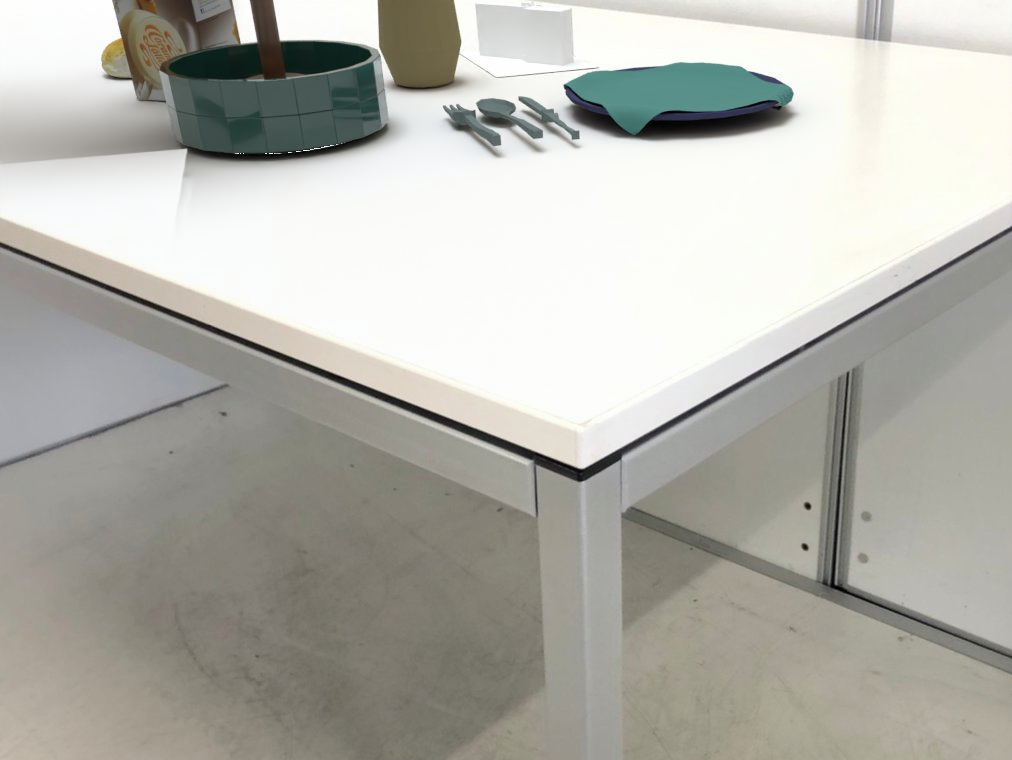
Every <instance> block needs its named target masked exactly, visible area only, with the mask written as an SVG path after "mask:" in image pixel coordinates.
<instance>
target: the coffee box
mask: <svg viewBox="0 0 1012 760" xmlns="http://www.w3.org/2000/svg"><path fill="white" fill-rule="evenodd" d="M111 1H112V2H111V3H112V5H113V10H114V13H115V18H116V21H117V26H118V29H119V30H118V31H119V33H120V38H122V42H123V46H124V50H125V54H126V58H127V61H128V65H129V69H130V73H131V77H132V78H131V82H132V85H133V88H134V89H133V90H134V93H135V97H136V99H137V101H138V100H139V101H143V100H144V101H157V102H158V101H160V102H166V99H165V95H164V90H163V86H162V81H161V77H160V73H159V69H160V66H161V63H163V62H165V61H167V60H169V59H171V58H173V57H175V56H179V55H182V54H186V53H189V52H193V51H197V50H202V49H208V48H213V47H219V46H225V45H233V44H242V42H241V37H240V33H239V27H238V23H237V17H236V13H235V12H236V11H235V6H234V3H233V2H234V1H233V0H111Z"/></svg>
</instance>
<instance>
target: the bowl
mask: <svg viewBox="0 0 1012 760" xmlns="http://www.w3.org/2000/svg"><path fill="white" fill-rule="evenodd" d="M280 43H281V49H282V55H283V61H284V67H285V73H299V74H303V75H304V76H296V77H286V78H272V79H258V80H245V79H247V78H249V77H252V76H256V75H261V74H263V71H262V65H261V60H260V54H259V49H258V43H257V41H252V42H243V43H242V42H241V44H233V45H225V46H219V47H213V48H208V49H202V50H197V51H193V52H189V53H186V54H182V55H179V56H175V57H173V58H171V59H169V60H167V61H165V62H163V63H161V66H160V69H159V73H160V77H161V81H162V86H163V90H164V95H165V99H166V101H165V103H166V108H167V112H168V117H169V121H170V125H171V129H172V134H173V138H174V139H175V140H176V141H177V142H179V143H180V144H182V145H183V146H185V147H190V148H193V149H197V150H202V151H206V152H216V153H221V152H224V153H223V154H228V153H239V154H240V153H241V154H243V153H244V154H265V153H267V154H269V153H273V154H274V153H288V152H296V151H303V150H310V149H314V148H321V147H324V146H330V145H336V144H341V143H344V142H348V141H350V142H352V140H353V141H356V140H359V139H363V138H366V137H367V136H369V135H371V134H374V133H376V132H379V131H380V130H382V129H383V128H384V127H385V126H386V125H387V123H388V122H389V119H390V118H389V111H388V105H387V96H386V95H387V94H386V89H385V88H386V87H385V79H384V72H383V65H382V64H383V63H382V54H380V52H379V50H378V49H377V48H375V47H372V46H369V45H366V44H364V43H356V42H350V41H343V40H328V39H326V40H325V39H282V40H281V39H280ZM355 139H356V140H355ZM348 143H349V142H348ZM344 144H345V143H344ZM341 145H342V144H341Z"/></svg>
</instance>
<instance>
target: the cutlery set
mask: <svg viewBox="0 0 1012 760" xmlns="http://www.w3.org/2000/svg"><path fill="white" fill-rule="evenodd" d="M563 90H565V92H564V93H565V96H566V98H568V99H569V101H570V102H571V103H572V104H574V105H576V106H577V107H580V108H582V109H585V110H588V111H590V112H593V113H595V114H601V115H605V116H610V117H611V118H612V119H613V121H614V122H615V123H616V124H617V125H618V126H619V127H620V128H622V130H625V131H626V132H628V133H629V134H631V135H632V136H636V135H637V134H638V133H640V131H641V130H643V128H644V127H645V126H646V125H647V124H648V123H649V122H651V121H696V120H697V121H698V120H711V119H724V118H728V117H736V116H742V115H745V114H753V113H756V112H759V111H763V110H766V109H768V108H771V109H774V110H775V111H781V110H782V109H783V108H784V107H785V106H787V105H788V104H790V103H791V102H792V101H793V98H794V95H795V93H794V90H793V88H792V87H791V86H789V85H788V84H786V83H784V82H782V81H781V80H779V79H777V78H776V77H773V76H769V75H766V74H763V73H759V72H756V71H750V70H749V71H748V70H747V69H746V68H745V67H743V66H741V65H740V66H739V65H731V64H723V63H714V62H713V63H712V62H683V61H680V62H674V63H670V64H665V65H656V66H655V65H654V66H640V67H639V66H638V67H629V68H622V69H615V70H608V69H607V70H594V71H593V70H592V71H590V72H586V73H585V74H581V75H579V76H578V77H575V78H573V79H571V80H569V81H567V82H565V83H564V84H563ZM517 101H519V102H520V103H521V104H524V106H526V107H528V108H529V109H531V110H532V111H533V112H534V113H536V114H537V115H539V116H540V119H541V124H548V123H554V124H555V125H557V126H559V127H560V128H562V129H563V130H565V131H566V132H567V133H568V134H569V135H570V136H571V140H572V141H575V140H580V137H581V136H580V130H576V129H574V128H572V127H570V126H568V125H567V123H565V121H564V120H562V119H560V117H559V114H558V112H555V108H548V109H547V108H546V107H545V106H544V105H542V104H541V103H540V102H537V101H536V100H535V99H533V98H531V97H528V96H522V95H519V96H518V99H517ZM779 103H780V105H779ZM475 104H476V105H475V106H476V107H477V109H478V111H479V113H481V114H482V115H484V116H486V117H489V118H492V119H505V120H507V121H509V122H510V123H513V124H514V125H516V126H518V127H519V128H520V129H521V130H522V131H524V132H525V133H526V135H528V136H529V137H530V138H532V140H538V139H539V140H540V139H543V138H544V130H543V129H542V128H540V127H538V126H536V125H534V124H532V123H531V122H529V121H527V120H525V119H523V118H519V117H517V116H515V115H513V114H514V113H516V110H517V106H516V103H515V102H511V101H509V100H507V99H502V98H495V97H490V98H489V97H488V98H480V99H479V100H478V101H476V102H475ZM455 106H456V107H455ZM455 106H454V105H453V104H449V107H448V106H446V105H442V108H443V110H444V112H445V113H446V114H447V115H448V117H450V120H452V121H453V122H455V123H456V124H459V125H461V126H469V127H470V128H471V129H472V131H473V132H475V133H476V134H477V135H478V136H479V137H481V138H482V139H485V140H486V141H488V142H489V144H490V145H491V146H492V147H499V146H502V137H501V134H500V133H499V132H496V131H495V130H494V129H492V128H489V127H487V126H485V125H483V123H480V122H479V120H478V119H477V112H476V111H477V110H476V109H473V110H470V109H468V108H465V107H463V106H461V104H459V103H456V104H455Z"/></svg>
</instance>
